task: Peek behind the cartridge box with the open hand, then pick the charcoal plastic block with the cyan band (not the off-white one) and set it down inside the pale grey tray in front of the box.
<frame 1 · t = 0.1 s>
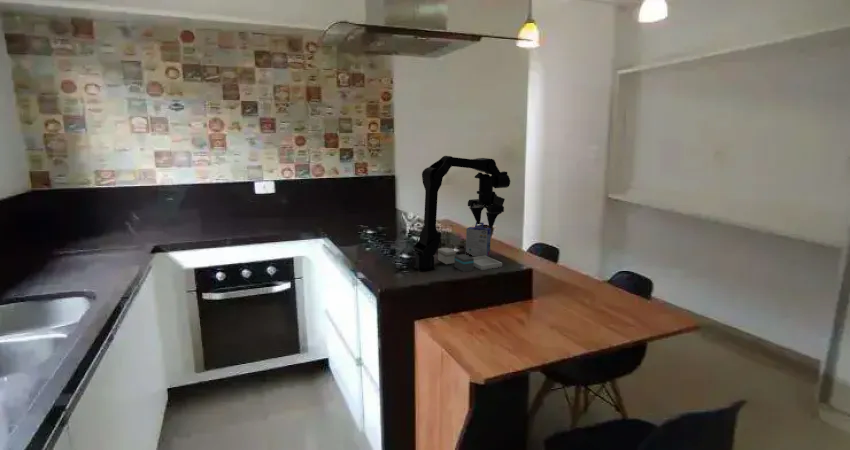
hand: (484, 226, 194), 15 cm above the kitchen counter, fingers open, 9 cm apart
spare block: (463, 268, 184), on the kitchen counter
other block: (446, 261, 194), on the kitchen counter
tray: (483, 264, 189), on the kitchen counter
ink cartridge box: (478, 255, 203), on the kitchen counter
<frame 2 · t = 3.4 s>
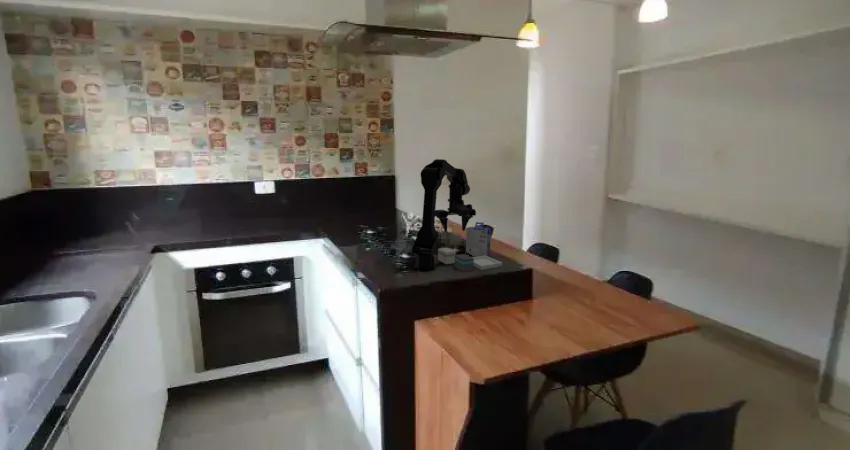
hand: (454, 231, 209), 9 cm above the kitchen counter, fingers open, 9 cm apart
nothing on the kitchen counter moved.
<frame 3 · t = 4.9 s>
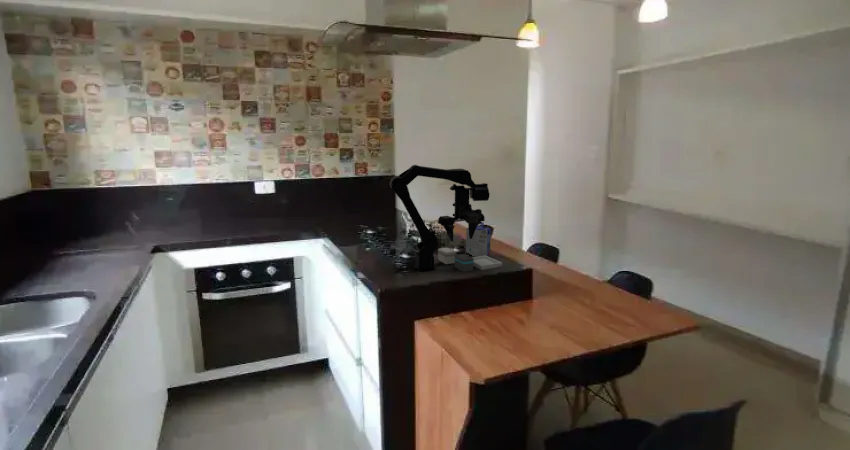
hand: (461, 240, 184), 11 cm above the kitchen counter, fingers open, 9 cm apart
nothing on the kitchen counter moved.
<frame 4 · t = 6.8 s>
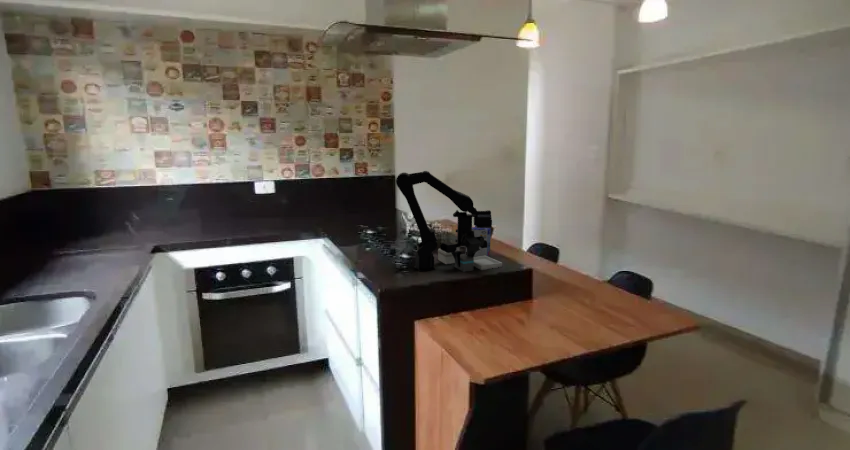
hand: (463, 266, 184), 1 cm above the kitchen counter, fingers closed on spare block, 4 cm apart
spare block: (463, 268, 184), on the kitchen counter, touching gripper
everything else where it was.
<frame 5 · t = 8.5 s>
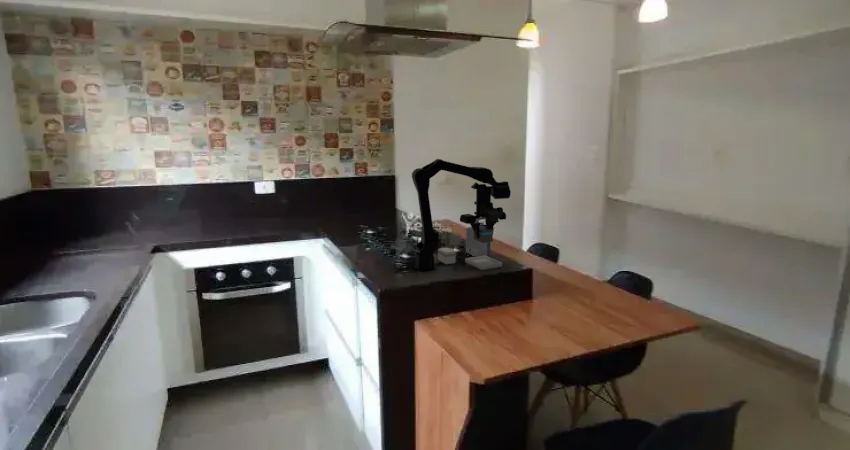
hand: (483, 237, 186), 11 cm above the kitchen counter, fingers closed on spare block, 4 cm apart
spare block: (483, 240, 186), point 10 cm above the kitchen counter, touching gripper
everything else where it was.
when the fingers open (3 cm above the kitchen counter, at t = 10.5 s): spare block drops 1 cm, resting on tray.
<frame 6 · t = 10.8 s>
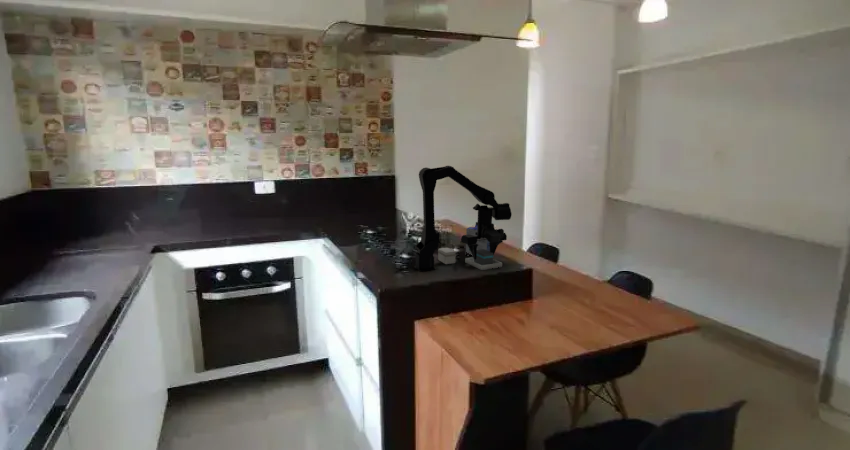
hand: (483, 258, 189), 3 cm above the kitchen counter, fingers open, 8 cm apart
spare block: (483, 263, 189), point 1 cm above the kitchen counter, touching tray
everything else where it was.
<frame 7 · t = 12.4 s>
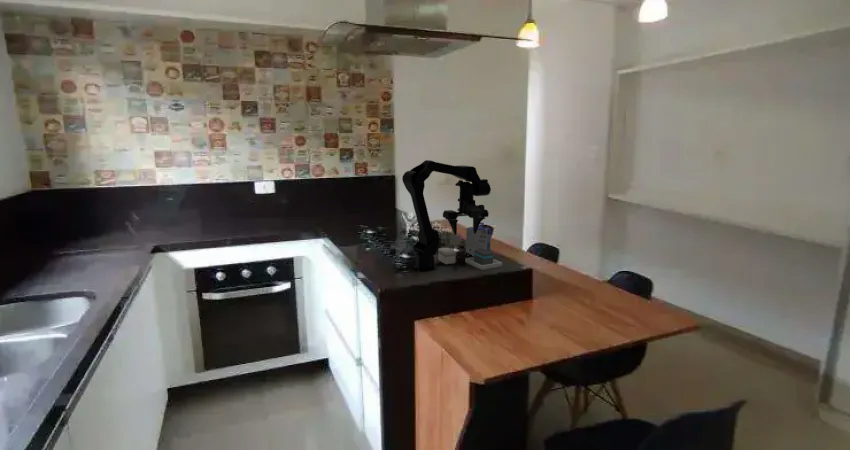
hand: (465, 234, 191), 12 cm above the kitchen counter, fingers open, 9 cm apart
nothing on the kitchen counter moved.
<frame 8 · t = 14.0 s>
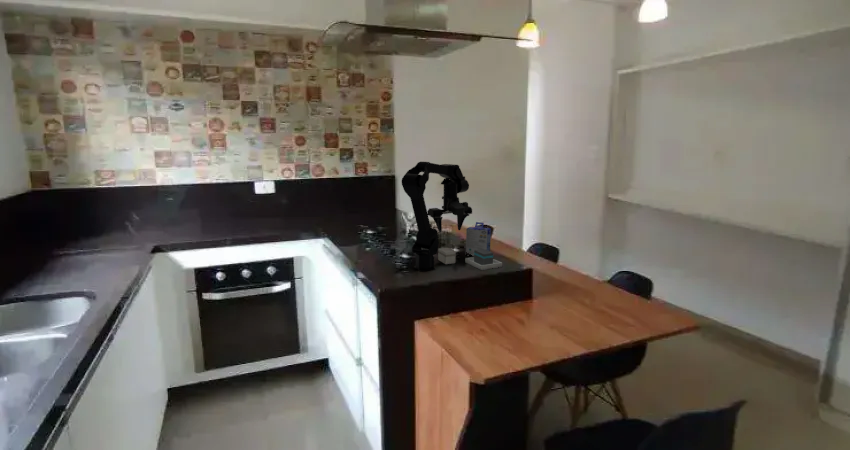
hand: (449, 231, 196), 12 cm above the kitchen counter, fingers open, 9 cm apart
nothing on the kitchen counter moved.
at the end: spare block inside the target area on the tray (0.0 cm from its centre), point 0.6 cm above the tray's base; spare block tilted 0°; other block moved 0.2 cm from its start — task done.
